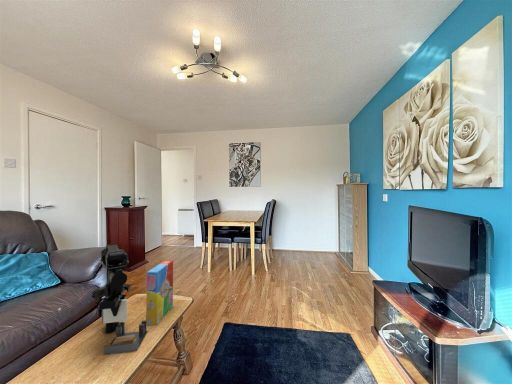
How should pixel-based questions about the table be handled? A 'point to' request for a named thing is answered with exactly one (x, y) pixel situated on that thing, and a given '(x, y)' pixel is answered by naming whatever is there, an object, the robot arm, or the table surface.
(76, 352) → the table surface
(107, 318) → the panel
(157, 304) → the game box
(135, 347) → the rack
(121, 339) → the offcut upper
